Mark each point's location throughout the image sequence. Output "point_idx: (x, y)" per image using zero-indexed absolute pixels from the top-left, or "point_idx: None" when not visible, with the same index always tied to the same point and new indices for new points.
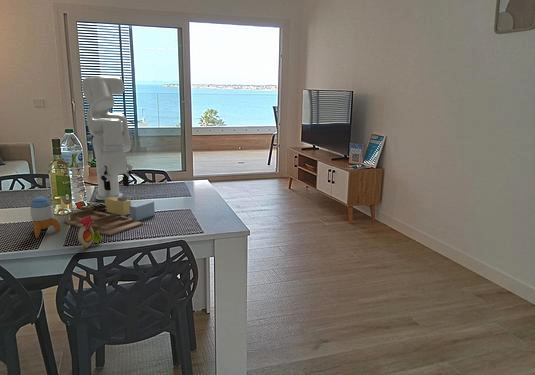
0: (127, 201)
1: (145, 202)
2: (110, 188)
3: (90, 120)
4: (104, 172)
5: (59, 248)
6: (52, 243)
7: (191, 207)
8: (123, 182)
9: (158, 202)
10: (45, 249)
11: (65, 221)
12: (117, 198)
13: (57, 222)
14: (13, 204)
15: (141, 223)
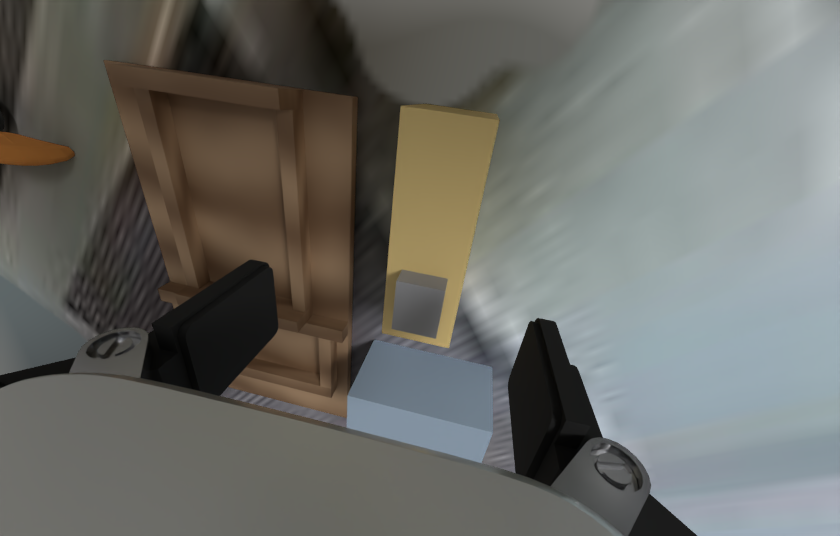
0: (421, 340)
1: (446, 438)
2: (266, 341)
3: None
4: (11, 422)
5: (49, 305)
6: (32, 254)
7: (659, 487)
8: (534, 357)
9: (765, 317)
10: (9, 273)
11: (108, 75)
12: (397, 279)
13: (8, 164)
14: None
15: (339, 415)
